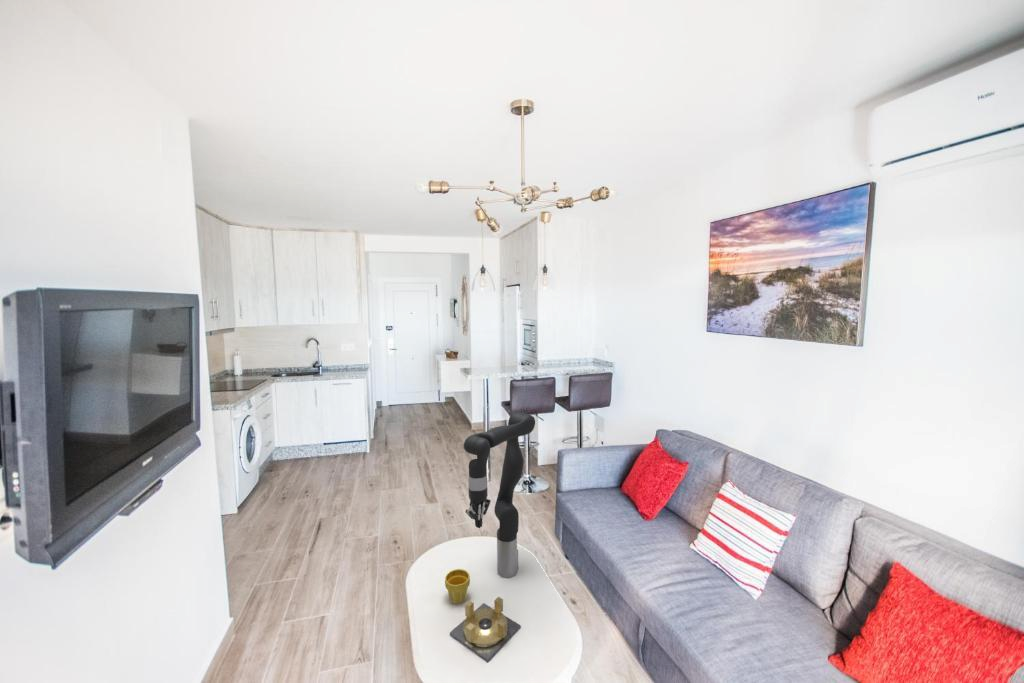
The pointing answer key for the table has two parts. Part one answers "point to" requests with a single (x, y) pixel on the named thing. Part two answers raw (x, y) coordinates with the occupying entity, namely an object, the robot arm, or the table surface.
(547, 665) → the table surface
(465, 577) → the plant pot
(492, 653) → the flange plate
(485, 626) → the pegged brass disc
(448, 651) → the table surface
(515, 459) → the robot arm
